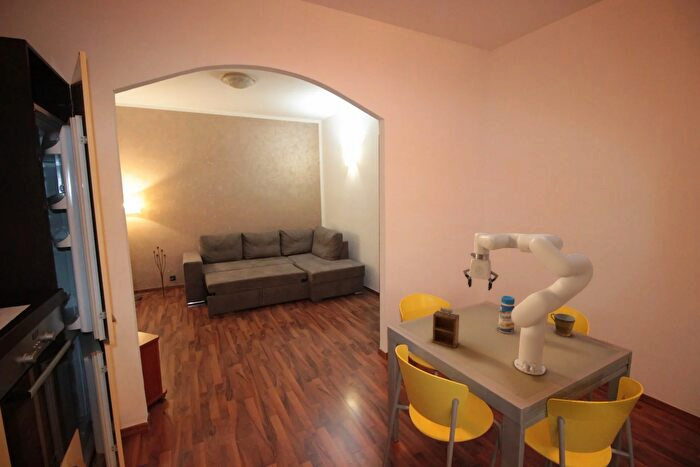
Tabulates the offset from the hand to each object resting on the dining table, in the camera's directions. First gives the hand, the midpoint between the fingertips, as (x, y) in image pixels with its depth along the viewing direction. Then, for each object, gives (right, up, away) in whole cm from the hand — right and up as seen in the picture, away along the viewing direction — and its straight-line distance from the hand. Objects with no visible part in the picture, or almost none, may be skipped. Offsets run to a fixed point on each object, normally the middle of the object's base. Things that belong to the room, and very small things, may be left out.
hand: (479, 288), depth 168 cm
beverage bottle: (+22, -28, +17) cm, 40 cm away
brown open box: (-17, -30, +4) cm, 35 cm away
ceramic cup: (+52, -28, +14) cm, 61 cm away
